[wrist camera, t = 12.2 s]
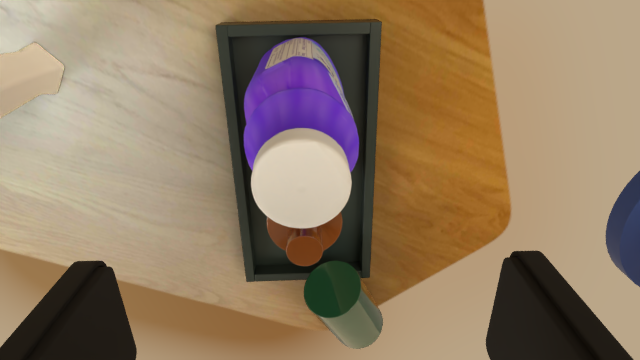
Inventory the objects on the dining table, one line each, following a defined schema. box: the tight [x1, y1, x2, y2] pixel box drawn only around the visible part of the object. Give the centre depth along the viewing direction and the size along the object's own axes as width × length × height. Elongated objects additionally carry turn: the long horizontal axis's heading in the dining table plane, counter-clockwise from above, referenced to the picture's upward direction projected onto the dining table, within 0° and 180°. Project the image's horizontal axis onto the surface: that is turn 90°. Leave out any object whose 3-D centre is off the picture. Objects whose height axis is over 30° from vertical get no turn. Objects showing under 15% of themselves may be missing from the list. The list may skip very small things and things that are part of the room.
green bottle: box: [304, 261, 383, 349], centre depth 38 cm, size 5×5×12 cm
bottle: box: [244, 37, 359, 228], centre depth 24 cm, size 7×6×17 cm
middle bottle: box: [267, 212, 343, 266], centre depth 29 cm, size 5×5×12 cm
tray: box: [216, 19, 382, 282], centre depth 34 cm, size 12×23×2 cm, turn 1°
